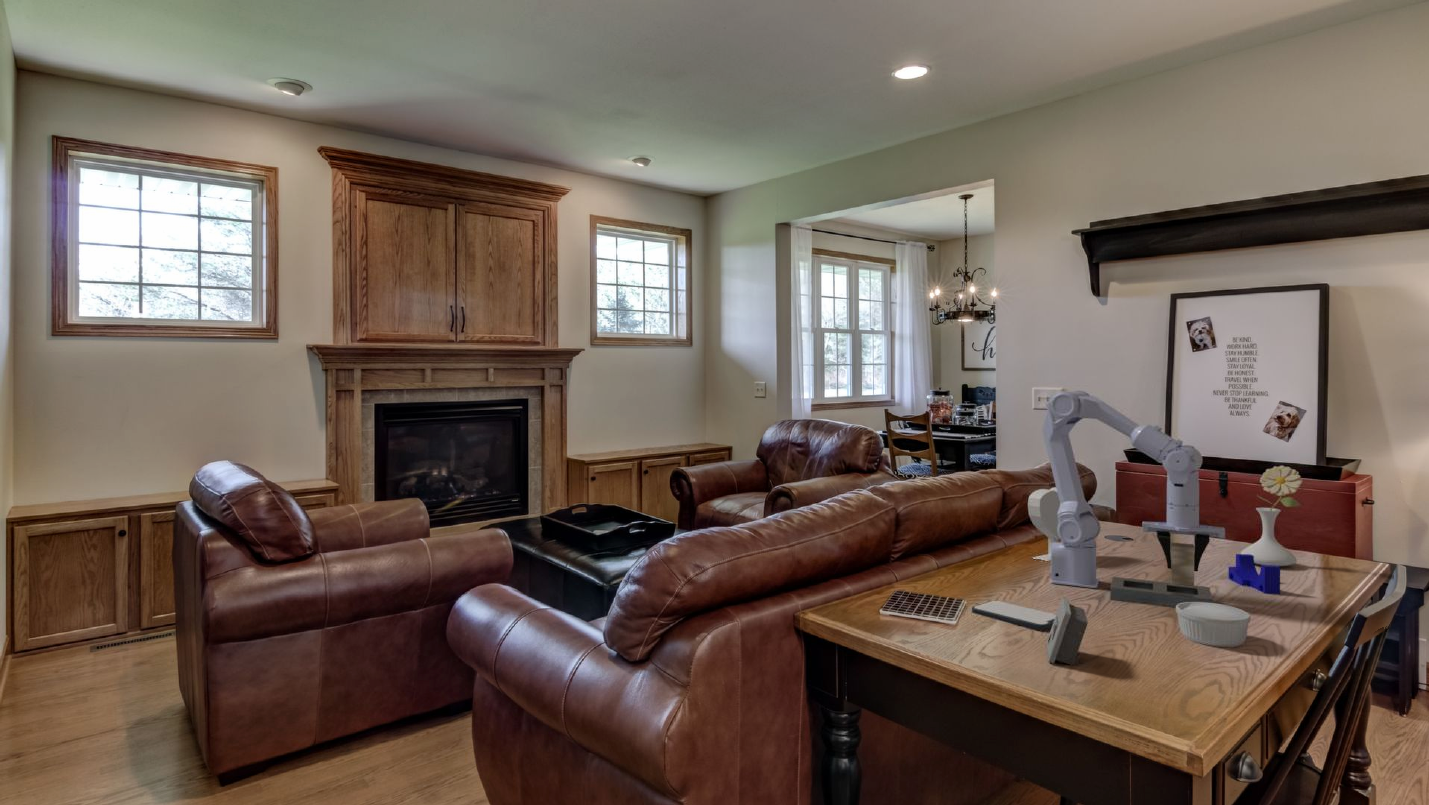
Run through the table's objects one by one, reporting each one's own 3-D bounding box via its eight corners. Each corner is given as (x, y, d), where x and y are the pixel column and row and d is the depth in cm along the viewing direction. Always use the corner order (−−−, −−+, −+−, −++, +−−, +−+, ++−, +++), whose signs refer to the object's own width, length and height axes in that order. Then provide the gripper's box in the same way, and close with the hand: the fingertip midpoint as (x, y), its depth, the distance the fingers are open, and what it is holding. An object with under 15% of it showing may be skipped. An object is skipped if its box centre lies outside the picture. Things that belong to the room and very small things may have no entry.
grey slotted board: (1110, 599, 158) (1110, 587, 158) (1112, 587, 167) (1112, 576, 167) (1212, 611, 149) (1212, 599, 149) (1209, 599, 158) (1209, 587, 157)
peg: (1171, 584, 155) (1171, 546, 155) (1171, 579, 158) (1171, 542, 158) (1194, 586, 153) (1194, 548, 153) (1193, 582, 156) (1193, 544, 156)
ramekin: (1180, 624, 142) (1180, 597, 142) (1252, 637, 135) (1252, 608, 135) (1171, 641, 133) (1171, 612, 133) (1247, 655, 126) (1247, 624, 126)
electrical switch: (1046, 645, 131) (1051, 594, 131) (1078, 652, 130) (1084, 600, 129) (1048, 665, 123) (1054, 610, 122) (1082, 672, 121) (1089, 616, 120)
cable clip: (1228, 579, 173) (1228, 553, 173) (1249, 580, 172) (1250, 554, 172) (1256, 594, 161) (1257, 566, 161) (1280, 594, 161) (1280, 567, 160)
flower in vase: (1229, 561, 189) (1230, 463, 188) (1256, 557, 193) (1257, 461, 193) (1287, 573, 177) (1288, 468, 176) (1314, 568, 182) (1315, 465, 181)
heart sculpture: (1063, 551, 202) (1063, 485, 201) (1080, 555, 197) (1080, 487, 197) (1025, 559, 194) (1025, 490, 194) (1042, 563, 190) (1042, 492, 189)
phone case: (968, 615, 151) (1043, 634, 138) (968, 607, 151) (1043, 626, 138) (994, 607, 156) (1068, 625, 143) (994, 599, 156) (1068, 616, 143)
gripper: (1142, 504, 155) (1142, 569, 156) (1226, 509, 148) (1225, 577, 148) (1142, 499, 162) (1142, 561, 162) (1223, 504, 154) (1223, 569, 155)
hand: (1182, 569), depth 156 cm, fingers closed on peg, 4 cm apart
